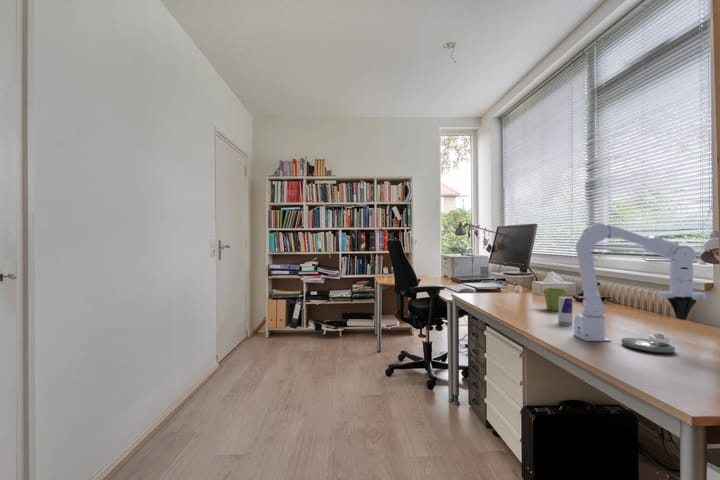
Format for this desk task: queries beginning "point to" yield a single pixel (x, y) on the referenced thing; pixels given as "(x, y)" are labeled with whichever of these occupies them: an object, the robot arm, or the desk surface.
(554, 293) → the plant pot
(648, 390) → the desk surface
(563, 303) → the energy drink
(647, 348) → the turntable
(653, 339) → the cover
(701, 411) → the desk surface
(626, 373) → the desk surface
